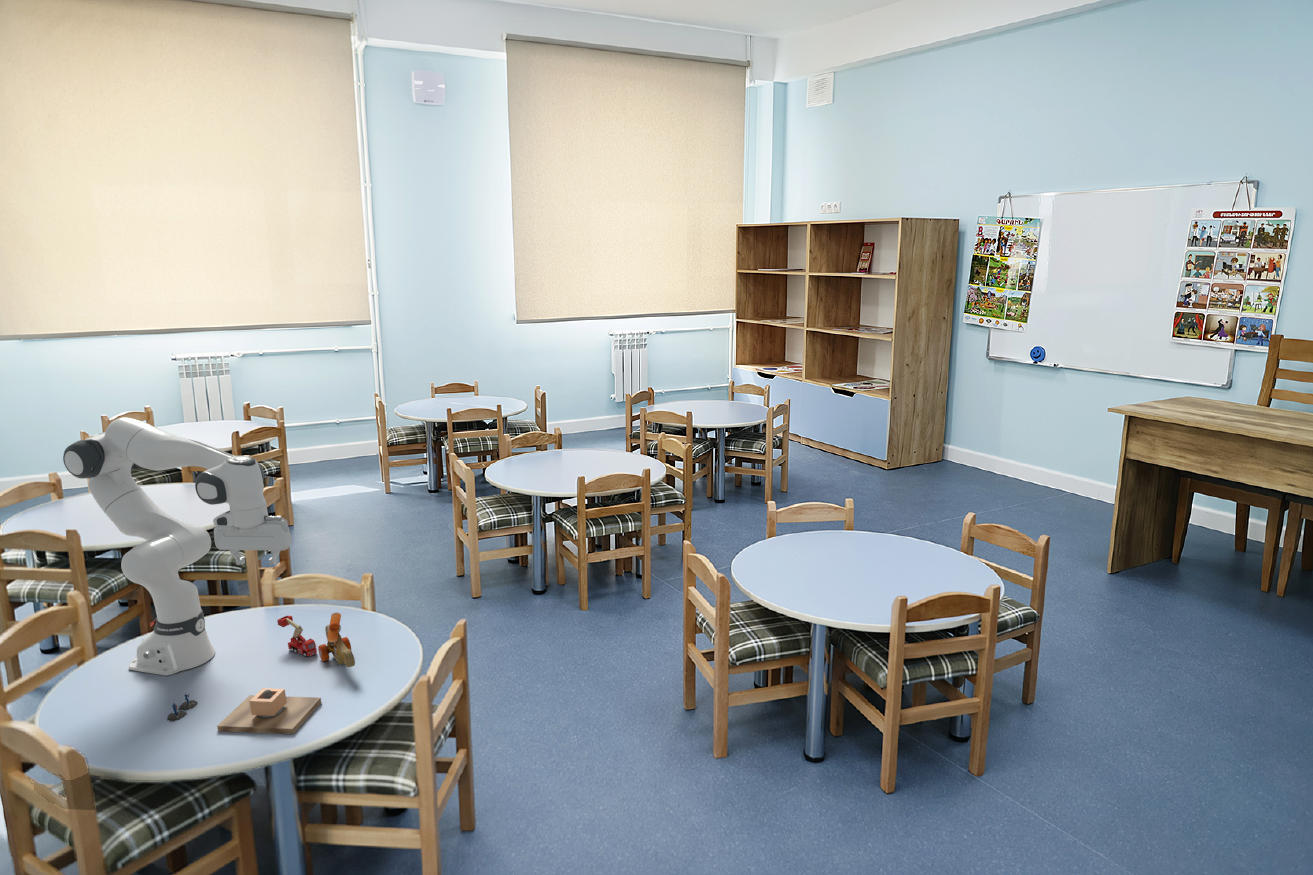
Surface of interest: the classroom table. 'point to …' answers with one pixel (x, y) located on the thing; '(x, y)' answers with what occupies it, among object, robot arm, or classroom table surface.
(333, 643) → the toy helicopter
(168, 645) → the robot arm
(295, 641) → the toy fire truck
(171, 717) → the figurines
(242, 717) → the stand
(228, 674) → the classroom table surface
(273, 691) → the square frame block
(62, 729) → the classroom table surface
